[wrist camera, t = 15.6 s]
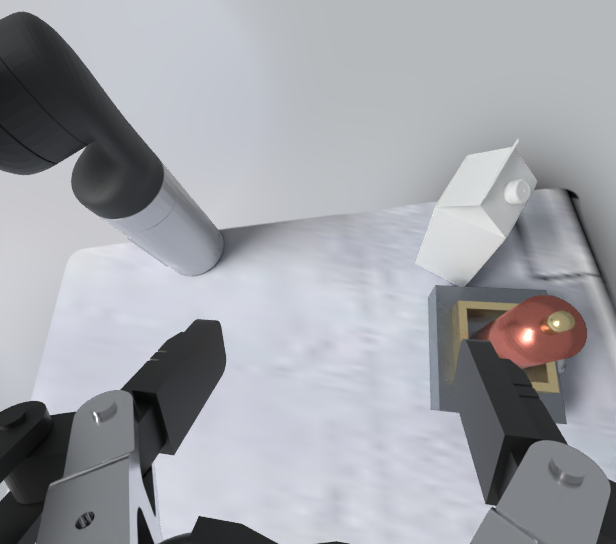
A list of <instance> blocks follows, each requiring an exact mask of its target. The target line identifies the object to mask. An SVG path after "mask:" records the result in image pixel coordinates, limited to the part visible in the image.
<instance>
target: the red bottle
mask: <svg viewBox="0 0 616 544" xmlns="http://www.w3.org/2000/svg"><path fill="white" fill-rule="evenodd" d="M586 338H587V329H586V325H585V322H584V320H583V318H582V316H581V315H580V314H579V312H578V311H577V310H576V309H575V308H574V307H573V306H572V305H570V304H569V303H567V302H566V301H564V300H562V299H560V298H557V297H554V296H548V295H538V296H533V297H530V298H528V299H526V300H524V301H523V302H521V303H520V304H518V305H517V306H515V307H514V308H512V309H511V310H509V311H507V312H506V313H504V314H503V315H501V316H500V317H498V318H497V319H495V320H494V321H492V322H490V323H489V324H487V325H486V326H484V327H483V328H481V329H480V330H478V331H477V332H476V333H475V334H474V335H473V336H472V338H471V339H474V340H488V341H490V342H491V343H492V345H493V347H494V349H495V350H496V352H497V354H498V356H499V358H504V359H510V360H511V361H513V362H514V363H515V364H516V365H517V366H519V367H520V368H521V369H522V368H527V367H531V366H536V365H540V364H545V363H549V362H553V361H558V360H562V359H566V358H570V357H572V356H574V355H576V354H577V353H578V352H580V350H581V349H582V348H583V346H584V345H585V342H586Z"/></svg>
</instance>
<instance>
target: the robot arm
mask: <svg viewBox="0 0 616 544" xmlns="http://www.w3.org/2000/svg"><path fill="white" fill-rule="evenodd" d="M86 146H87V147H86ZM84 147H86V148H85V150H84V151H83V153H82V154H81V155H80V157H79V159H78V160H77V162H76V164H75V166H74V169H73V173H72V180H71V183H72V189H73V192H74V194H75V196H76V198H77V199H78V200H79V202H80V203H81V204H83V205H84V206H85V207H86V208H88V209H89V210H91V211H92V212H94V213H95V214H96V215H98V216H99V217H101V218H102V219H103V220H105V221H106V222H108V223H109V224H111V225H112V226H113V227H115V228H116V229H118V230H119V231H121V232H122V233H123V234H125V235H126V236H127V237H128V239H129V240H130V241H131V242H133V243H134V244H135V245H137V246H138V247H140V248H141V249H143V250H144V251H145V252H147V253H148V254H150V255H151V256H153V257H154V258H155V259H157V260H158V261H160V262H161V263H163V264H164V265H165V266H169V267H171V268H172V269H174V270H175V271H177V272H178V273H180V274H182V275H186V276H195V275H200V274H203V273H205V272H207V271H208V270H210V269H211V268H212V267H213V266H215V264H216V263H217V262H218V261H219V259H220V257H221V255H222V252H223V247H224V241H223V237H222V235H221V233H220V232H219V230H218V229H217V228H216V227H215V225H214V224H213V223H212V222H211V221H210V219H209V218H208V217H207V216H206V214H205V213H204V212H203V211H202V210H201V208H200V207H199V206H198V205H197V204H196V202H195V201H194V200H193V199H192V198H191V197H190V195H189V194H188V193H187V192H186V190H185V189H184V188H183V187H182V186H181V184H180V183H179V182H178V181H177V180H176V178H175V177H174V176H173V175H172V174H171V173H170V171H169V170H168V169H167V168H166V167H165V165H164V164H163V163H162V162H161V161H160V159H159V158H158V157H157V156H156V155H155V153H154V152H153V151H152V150H151V149H150V148H149V147H148V145H147V144H146V143H145V142H144V141H143V139H142V138H141V137H140V136H139V135H138V134H137V132H136V131H135V130H134V129H133V127H132V126H131V125H130V124H129V123H128V121H127V120H126V119H125V118H124V116H123V115H122V114H121V113H120V111H119V110H118V109H117V107H116V106H115V105H114V103H113V102H112V101H111V99H110V98H109V97H108V96H107V94H106V93H105V91H104V90H103V88H102V87H101V86H100V84H99V83H98V82H97V80H96V79H95V78H94V76H93V75H92V74H91V72H90V71H89V69H88V68H87V67H86V66H85V65H84V63H83V62H82V61H81V60H80V58H79V57H78V55H77V54H76V53H75V52H74V51H73V49H72V48H71V47H70V46H69V45H68V44H67V43H66V42H65V40H64V39H62V37H61V36H60V35H59V34H58V33H57V32H56V31H55V30H54V29H53V28H52V27H50V26H49V25H48V24H47V23H46V22H44V21H43V20H41V19H40V18H38V17H37V16H35V15H32V14H30V13H27V12H17V13H13V14H11V15H9V16H7V17H5V18H3V19H1V20H0V170H2V171H6V172H9V173H13V174H18V175H30V174H35V173H39V172H42V171H44V170H46V169H49V168H51V167H52V166H54V165H56V164H58V163H59V162H61V161H63V160H64V159H66V158H68V157H69V156H71V155H72V154H74V153H76V152H77V151H79V150H81V149H83V148H84ZM225 366H226V353H225V347H224V341H223V335H222V329H221V324H220V322H219V321H216V320H202V319H197V320H195V321H194V322H193V323H192V324H191V325H190V326H189V327H188V329H187V330H186V331H185V332H180V333H179V334H177V335H175V336H174V337H172V338H170V339H169V340H167V341H166V342H165V343H164V344H163V345H162V347H161V348H160V349H159V350H158V352H156V353H155V354H154V355H153V356H152V357H151V358H150V361H147V362H146V363H145V364H144V365H143V367H142V368H141V369H140V370H139V371H138V372H137V373H136V374H135V375H134V376H133V377H132V378H131V379H130V380H129V381H128V382H127V383H126V384H125V385H124V387H123V388H122V389H121V390H114V391H108V392H105V393H102V394H99V395H97V396H95V397H93V398H92V399H90V400H88V401H87V402H86V403H84V404H83V405H82V406H81V407H80V408H79V409H78V411H77V412H70V413H63V414H56V415H50V414H49V412H48V410H47V408H46V406H45V404H44V403H42V402H39V401H29V402H23V403H20V404H17V405H14V406H11V407H10V408H7V409H5V410H3V411H1V412H0V483H1V482H2V481H3V480H4V481H5V483H6V484H7V486H8V488H9V489H10V492H9V493H8V494H7V495H6V496H5V497H4V498H3V499H2V500H1V501H0V544H35V543H36V544H278V543H276V542H274V541H272V540H270V539H268V538H267V537H265V536H263V535H261V534H259V533H257V532H256V531H254V530H252V529H250V528H248V527H246V526H245V525H243V524H239V523H234V522H229V521H223V520H218V519H212V518H207V517H201V516H199V517H198V519H197V522H196V524H195V526H194V528H193V531H192V533H186V534H182V535H178V536H175V537H172V538H169V539H167V540H164V541H163V538H162V532H161V526H160V516H159V506H158V495H157V484H156V474H155V466H154V463H153V461H154V460H155V458H156V457H157V455H158V454H159V453H162V454H169V455H174V454H175V453H176V451H177V449H178V448H179V446H180V444H181V443H182V441H183V439H184V438H185V436H186V434H187V433H188V431H189V429H190V428H191V426H192V425H193V423H194V421H195V420H196V418H197V416H198V415H199V413H200V411H201V410H202V408H203V406H204V405H205V403H206V401H207V400H208V398H209V396H210V395H211V393H212V391H213V390H214V388H215V386H216V385H217V383H218V381H219V380H220V378H221V376H222V375H223V373H224V370H225ZM454 394H455V399H456V403H457V406H458V410H459V413H460V417H461V420H462V424H463V427H464V431H465V434H466V438H467V441H468V445H469V448H470V452H471V455H472V459H473V462H474V465H475V469H476V472H477V476H478V479H479V483H480V486H481V490H482V493H483V497H484V500H485V504H489V505H495V506H496V508H493V507H492V508H491V509H490V510H489V512H488V513H487V515H486V516H485V518H484V520H483V522H482V523H481V525H480V527H479V529H478V530H477V532H476V534H475V536H474V537H473V539H472V541H471V543H470V544H616V483H615V482H613V481H611V480H609V479H608V478H607V477H606V475H605V473H604V472H603V471H602V469H601V468H600V467H599V466H598V465H597V464H596V463H595V462H594V461H593V460H592V459H590V458H589V457H588V456H587V455H585V454H584V453H582V452H581V451H579V450H577V449H575V448H573V447H571V446H569V445H568V444H567V442H566V441H565V439H564V437H563V436H562V434H561V432H560V431H559V429H558V427H557V426H556V424H555V422H554V421H553V419H552V417H551V415H550V414H549V412H548V410H547V409H546V407H545V405H544V404H543V402H542V400H540V399H539V395H538V394H537V392H536V390H535V389H534V388H533V387H532V383H531V382H530V380H529V378H528V377H527V375H526V373H525V372H524V371H523V370H522V369H521V368H520V367H519V366H517V365H516V364H515V363H514V362H513V361H511V360H510V359H504V358H499V356H498V354H497V352H496V350H495V349H494V347H493V345H492V343H491V342H490V341H488V340H474V339H462V341H461V344H460V349H459V355H458V360H457V366H456V371H455V377H454ZM319 544H348V543H343V542H337V541H336V542H328V543H319Z"/></svg>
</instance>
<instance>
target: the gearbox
mask: <svg viewBox="0 0 616 544" xmlns="http://www.w3.org/2000/svg"><path fill="white" fill-rule="evenodd" d="M538 295H547V291H546V290H529V289H506V288H484V287H462V286H440V285H435V287H434V289H433V290H432V292H431V294H430V295H429V297H428V308H429V350H430V392H431V410H437V411H447V412H456V413H459V410H458V406H457V403H456V399H455V394H454V377H455V371H456V366H457V360H458V355H459V349H460V344H461V341H462V339H471V338H472V336H473V335H474V334H475V333H476V332H477V331H478V330H480V329H481V328H483V327H484V326H486V325H487V324H489V323H490V322H492V321H494V320H495V319H497V318H498V317H500V316H501V315H503V314H504V313H506V312H507V311H509V310H511V309H512V308H514V307H515V306H517V305H518V304H520V303H521V302H523V301H524V300H526V299H528V298H530V297H533V296H538ZM565 367H566V359H562V360H558V361H553V362H549V363H545V364H540V365H536V366H531V367H527V368H522V370H523V371H524V372H525V373H526V375H527V377H528V378H529V380H530V382H531V383H532V387H533V388H534V389H535V390H536V392H537V394H538V395H539V399H540V400H542V402H543V404H544V405H545V407H546V409H547V410H548V412H549V414H550V415H551V417H552V419H553V421H554V422H555V423H559V424H567V422H566V416H565V409H564V403H563V396H562V389H561V383H560V376H559V375H561V374H562V373H563V372H564V370H565Z"/></svg>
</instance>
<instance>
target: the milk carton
mask: <svg viewBox="0 0 616 544" xmlns="http://www.w3.org/2000/svg"><path fill="white" fill-rule="evenodd" d="M518 141H519V139H517V140H516V142H515V143H514V145H513V147H509V148H504V149H498V150H493V151H487V152H482V153H476V154H471V155H467V157H466V158H465V160H464V161H463V163H462V164H461V166H460V167H459V169H458V171H457V173H456V174H455V175H454V177H453V179H452V180H451V182H450V183H449V185H448V187H447V188H446V190H445V191H444V193H443V194H442V196H441V198H440V199H439V201H438V202H437V204H436V206H435V209H434V212H433V214H432V217H431V220H430V223H429V225H428V228H427V231H426V234H425V237H424V239H423V242H422V245H421V248H420V250H419V253H418V256H417V259H416V262H415V264H416V265H418V266H420V267H422V268H424V269H426V270H428V271H430V272H431V273H433V274H435V275H437V276H439V277H441V278H443V279H445V280H447V281H449V282H451V283H453V284H455V285H457V286H462V287H465V286H466V285H467V284H468V283H469V282H470V280H471V279H472V278H473V277H474V276H475V275H476V274H477V272H478V271H479V270H480V269H481V268H482V267H483V265H484V264H485V263H486V262H487V261H488V260H489V258H490V257H491V256H492V255H493V254H494V253H495V251H496V250H497V249H498V248H499V247H500V246H501V244H502V243H503V242H504V241H505V240H506V238H507V237H508V235H509V234H510V232H511V230H512V228H513V227H514V225H515V223H516V221H517V219H518V217H519V216H520V214H521V212H522V210H523V208H524V207H525V205H526V203H527V201H528V199H529V198H530V196H531V194H532V192H533V190H534V188H535V186H536V184H537V179H536V178H535V177H534V175H533V174H532V172H531V171H530V170H529V168H528V166H527V165H526V163H525V162H524V160H523V159H522V157H521V156H520V155H519V153H518V152H517V150H516V149H515V147H516V145H517V143H518Z"/></svg>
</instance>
